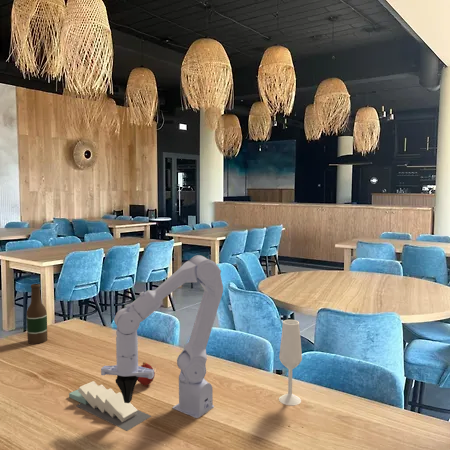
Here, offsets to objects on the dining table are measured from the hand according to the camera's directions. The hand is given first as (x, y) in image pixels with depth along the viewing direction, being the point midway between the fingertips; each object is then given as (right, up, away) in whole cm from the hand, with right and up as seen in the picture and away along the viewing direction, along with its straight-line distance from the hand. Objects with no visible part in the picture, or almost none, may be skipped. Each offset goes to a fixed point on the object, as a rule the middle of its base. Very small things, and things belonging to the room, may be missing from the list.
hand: (128, 401), depth 118 cm
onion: (+1, -4, +21) cm, 21 cm away
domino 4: (-3, -4, +2) cm, 5 cm away
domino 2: (-9, -4, +7) cm, 12 cm away
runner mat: (-5, -5, +4) cm, 8 cm away
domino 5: (+1, -4, 0) cm, 4 cm away
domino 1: (-13, -3, +9) cm, 16 cm away
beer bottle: (-51, 0, +61) cm, 80 cm away
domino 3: (-6, -4, +5) cm, 8 cm away
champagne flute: (+46, -5, +11) cm, 48 cm away
